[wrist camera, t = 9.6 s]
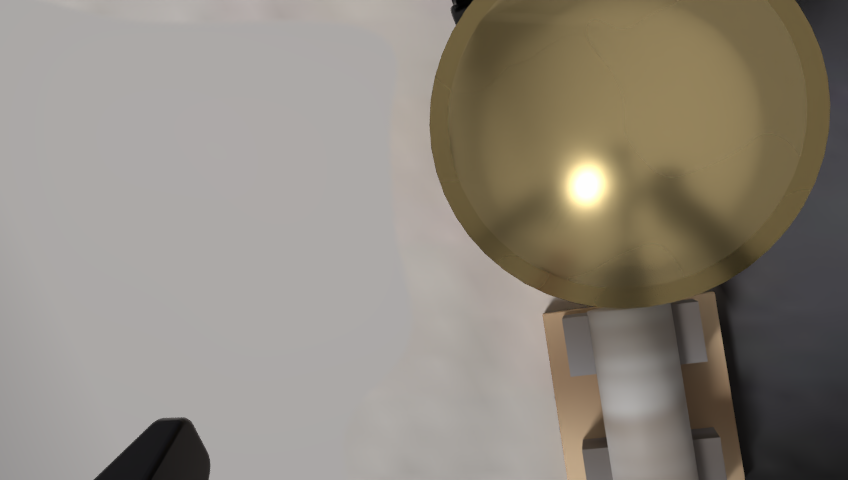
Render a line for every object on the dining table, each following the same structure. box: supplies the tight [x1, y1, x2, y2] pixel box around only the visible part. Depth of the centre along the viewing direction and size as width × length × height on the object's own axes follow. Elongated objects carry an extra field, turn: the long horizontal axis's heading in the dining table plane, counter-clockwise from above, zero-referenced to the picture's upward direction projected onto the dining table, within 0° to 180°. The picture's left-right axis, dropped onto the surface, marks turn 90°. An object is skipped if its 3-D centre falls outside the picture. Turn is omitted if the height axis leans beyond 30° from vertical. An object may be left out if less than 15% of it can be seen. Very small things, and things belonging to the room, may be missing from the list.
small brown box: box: [543, 291, 745, 480], centre depth 21 cm, size 5×5×3 cm
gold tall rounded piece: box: [430, 0, 830, 309], centre depth 16 cm, size 5×5×13 cm
